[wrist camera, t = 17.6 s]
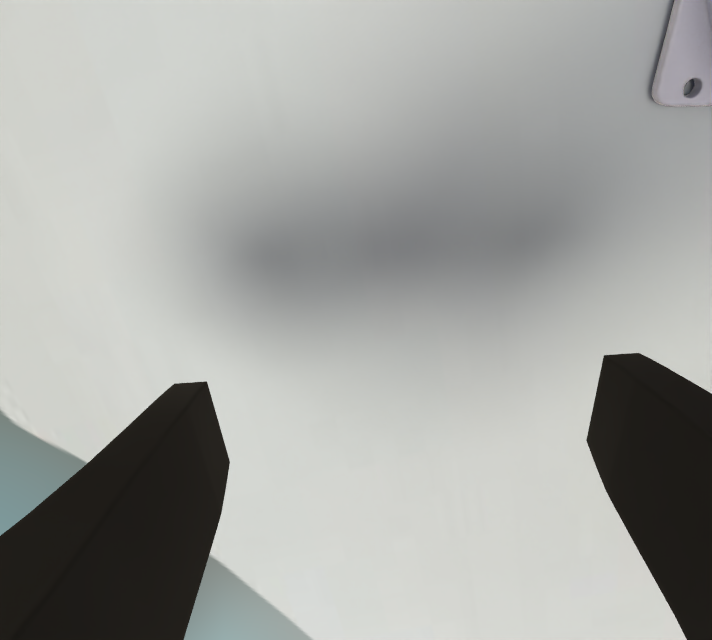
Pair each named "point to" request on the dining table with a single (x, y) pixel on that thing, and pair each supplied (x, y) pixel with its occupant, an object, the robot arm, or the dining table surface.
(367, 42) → the dining table surface
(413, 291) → the dining table surface
